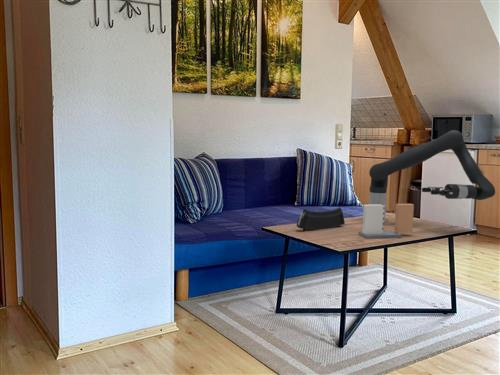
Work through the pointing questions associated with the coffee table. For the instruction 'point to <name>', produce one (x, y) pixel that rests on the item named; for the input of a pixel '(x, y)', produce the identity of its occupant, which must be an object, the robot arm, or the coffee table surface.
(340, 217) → the magazine
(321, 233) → the coffee table surface
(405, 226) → the brown rectangular block
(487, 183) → the robot arm
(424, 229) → the coffee table surface
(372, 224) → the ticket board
